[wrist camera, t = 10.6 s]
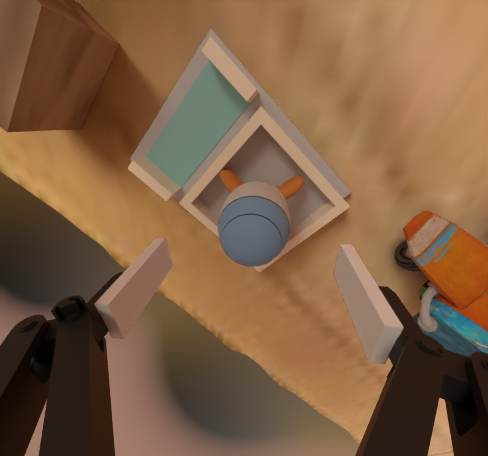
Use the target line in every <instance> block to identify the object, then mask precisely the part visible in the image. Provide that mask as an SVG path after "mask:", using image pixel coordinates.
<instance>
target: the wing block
mask: <svg viewBox="0 0 488 456" xmlns="http://www.w3.org/2000/svg"><path fill="white" fill-rule="evenodd" d="M118 46H119V43H118V42H117V41H116V40H115V39H114V38H113V37H112V36H111V35H110V34H109V33H108V32H107V31H106V30H105V29H104V28H103V27H102V26H101V25H100V24H99V23H98V22H97V21H96V20H95V19H94V18H93V17H92V16H91V15H90V14H89V13H88V12H87V11H86V10H85V9H84V8H83V7H82V6H81V5H80V4H79V3H77V2H75V1H74V0H0V127H1V128H3V129H4V130H5V131H7V132H22V131H45V130H68V129H81V128H82V126H83V124H84V121H85V119H86V117H87V115H88V112H89V110H90V108H91V106H92V104H93V101H94V99H95V97H96V95H97V92H98V90H99V88H100V86H101V84H102V81H103V79H104V77H105V75H106V73H107V70H108V68H109V66H110V64H111V61H112V59H113V57H114V55H115V53H116V50H117V48H118Z"/></svg>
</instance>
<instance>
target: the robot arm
mask: <svg viewBox="0 0 488 456" xmlns="http://www.w3.org/2000/svg"><path fill="white" fill-rule="evenodd" d="M172 266H173V265H172V261H171V257H170V253H169V249H168V244H167V240H166V238H160V237H157V238H156V239H155V240H154V241H153V242H152V243H151V244H150V245H149V246H148V247H147V248H146V249H145V250H144V251H143V252H142V254H141V255H140V256H139V257H138V258H137V259H136V260H135V261H134V262H133V263H132V264H131V265H130V266H129V267H128V268H127V269H126V271H125V272H120V273H118V274H117V275H115V276H114V277H112V278H111V279H110V280H109V281H108V282H107V284H105V285H104V286H103V287H102V289H100V290H99V291H98V292H97V293H96V294H95V295H94V296H93V297H92V298H91V299H90V300H89V302H87V304H86V303H85V301H84V299H83V297H81V296H72V297H68V298H66V299H63V300H62V301H60V302H59V303H57V304H56V305H55V306H54V307H53V309H52V311H51V312H52V314H53V315H54V316H55V318H56V319H53V320H48V321H47V320H46V319H45V317H44V316H43V315H34V316H31V317H28V318H26V319H24V320H22V321H21V322H19V323H18V324H17V325H15V327H14V328H13V329H12V330H11V331H10V333H9V334H8V335H7V337H6V338H5V340H4V341H3V343H2V344H1V346H0V456H24V455H25V453H26V450H27V448H28V445H29V443H30V440H31V438H32V435H33V433H34V430H35V428H36V425H37V423H38V420H39V418H40V415H41V413H42V410H43V408H44V405H45V403H46V400H47V404H46V411H45V418H44V424H43V431H42V438H41V444H40V451H39V456H115V450H114V449H115V448H114V436H113V423H112V411H111V398H110V387H109V374H108V361H107V348H106V340H105V338H104V336H105V335H106V334H107V332H108V331H109V333H110V335H111V337H112V338H120V339H124V338H125V337H126V336H127V334H128V333H129V331H130V330H131V328H132V327H133V325H134V323H135V322H136V320H137V319H138V317H139V316H140V314H141V313H142V311H143V310H144V308H145V307H146V305H147V304H148V302H149V301H150V299H151V298H152V296H153V295H154V293H155V292H156V290H157V289H158V287H159V285H160V284H161V282H162V281H163V279H164V278H165V276H166V275H167V273H168V272H169V270H170V269H171V267H172ZM334 276H335V279H336V281H337V284H338V286H339V289H340V292H341V294H342V297H343V299H344V302H345V304H346V307H347V309H348V312H349V314H350V317H351V319H352V322H353V324H354V327H355V329H356V332H357V334H358V337H359V339H360V342H361V344H362V347H363V349H364V352H365V355H366V357H367V360H368V362H369V363H380V364H385V363H386V361H387V359H388V357H389V358H390V360H391V362H392V364H393V366H392V368H391V370H390V372H389V374H388V376H387V380H386V383H385V385H384V388H383V390H382V392H381V395H380V397H379V400H378V402H377V405H376V407H375V409H374V412H373V414H372V417H371V419H370V422H369V424H368V426H367V429H366V431H365V434H364V436H363V439H362V441H361V443H360V446H359V448H358V451H357V453H356V455H355V456H427V455H428V450H429V445H430V440H431V436H432V431H433V426H434V421H435V416H436V411H437V406H438V401H439V398H442V399H444V400H445V403H446V409H447V415H448V421H449V428H450V434H451V440H452V446H453V452H454V456H488V354H487V353H483V352H474V353H473V354H471V356H470V357H467V356H464V355H461V354H458V353H455V352H452V351H449V350H446V349H444V347H443V346H442V345H441V344H440V343H439V342H438V341H437V340H435V339H434V338H432V337H431V336H428V335H426V334H424V333H423V332H422V330H421V329H420V327H419V326H418V324H417V323H416V322H415V320H414V319H413V317H412V316H411V315H410V313H409V312H408V310H407V309H406V307H405V306H404V305H403V303H401V300H400V299H399V297H398V296H397V295H396V293H394V292H393V291H392V290H391V289H389V288H388V287H383V286H377V284H376V283H375V281H374V279H373V278H372V276H371V275H370V273H369V271H368V270H367V268H366V267H365V265H364V263H363V262H362V260H361V259H360V257H359V255H358V254H357V252H356V251H355V249H354V247H353V246H352V244H340V247H339V252H338V256H337V261H336V265H335V269H334Z"/></svg>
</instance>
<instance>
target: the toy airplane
mask: <svg viewBox="0 0 488 456" xmlns="http://www.w3.org/2000/svg"><path fill="white" fill-rule="evenodd" d="M403 230H404V233H405V237H406V241H404V242H403V243H401V244H400V245H399V246H398V247H397V249H396V251H395V260H396V262H397V264H398V265H399V266H401V267H402V268H404V269H406V270H411V271H420V270H421V271H422V272H423V273H424V274H425V275H426V276H427V278H428V279H429V281H427V282H426V283H425V284H423V286H422V288H421V289H420V300H421V305H420V312H419V313H417V314H416V315H415V316H414V317H413V319H414V320H415V322H416V323H417V324H418V326H419V327H420V329H421V330H422V332H423V333H424V334H426V335H428V336H431V337H432V338H434V339H435V340H437V341H438V342H439V343H440V344H441V345H442V346H443V347H444V349H446V350H449V351H452V352H455V353H458V354H461V355H464V356H467V357H470V356H471V354H473V353H474V352H483V353H487V354H488V245H487V244H485V243H482V242H480V241H479V240H477V239H476V238H474V237H473V236H471V235H470V234H468V233H467V232H465V231H464V230H463V229H461V228H460V227H458V226H457V225H455V224H454V223H452V222H450V221H448V220H446V219H444V218H442V217H440V216H438V215H436V214H434V213H432V212H429V211H424V212H422V213H420V214H419V215H417V216H415V217H414V218H413V219H412V220H411V221H410V222H409V223H408V224H407V225H406V226H405V227H404V228H403Z"/></svg>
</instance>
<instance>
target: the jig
mask: <svg viewBox="0 0 488 456" xmlns="http://www.w3.org/2000/svg"><path fill="white" fill-rule="evenodd" d="M130 160H131V161H132V162H131V164H130V165H129V167H128V169H129V170H130V171H131V172H132V173H133V174H134V175H136V176H137V177H138V178H139V179H140V180H142V181H143V182H144V183H145V184H146V185H148V186H149V187H150V188H151V189H152V190H153V191H155V192H156V193H157V194H158V195H159V196H161V197H162V198H163V199H164V200H165V201H168V200H169V199H170V198H172V197H174V198H175V199H176V200H178V201H179V204H180V205H181V206H182V207H184V208H185V209H186V210H187V211H188V212H189V213H191V214H192V215H193V216H194V217H195V218H196V219H198V220H199V221H200V222H201V223H202V224H203V225H205V226H206V227H207V228H208V229H209V230H210V231H212V232H213V233H214V234H215V235H216V236H217V237H219V234H218V220H219V216H220V212H221V209H222V206H223V204H224V203H225V201H226V199H227V197H228V196H229V195H230V194H231V193H230V192H229V191H228V189H227V188H226V187H225V186H224V184H223V182H222V180H221V178H220V171H221V170H222V169H224V168H231V170H232V171H233V172H234V173H235V174H236V175H237V176H238V177H239V178H240V180H241V181H242V182H244V183H248V182H252V181H263V182H266V183H269V184H271V185H273V186H275V187H276V186H279V185H281V184H282V183H283V182H285V181H287V180H288V179H290V178H292V177H293V176H294V175H298V176H302V177H303V179H304V184H303V186H302V187H301V188H300V190H299V191H298V192H297V193H296V194H294V195H293V196H292V197H290V198H288V199H287V200H286V202H287V204H288V208H289V214H290V234H289V238H288V241H287V243H286V245H285V247H284V248H283V250H282V251H281V252H280V254H279V255H278V256H277V257H275V258H274V259H273V260H272V261H271V262H269V263H267V264H265V265H262V266H256V267H254V268H255V269H256V270H257V271H258V272H261V271H262V270H264V269H265V268H266V267H268V266H269V265H271V264H272V263H273V262H275V261H276V260H277V259H279V258H280V257H282V256H283V255H284V254H286V253H287V252H288V251H290V250H291V249H293V248H294V247H295V246H297V245H298V244H300V243H301V242H302V241H304V240H305V239H306V238H308V237H309V236H311V235H312V234H313V233H315V232H316V231H317V230H319V229H320V228H322V227H323V226H324V225H326V224H327V223H328V222H330V221H331V220H333V219H334V218H335V217H337V216H338V215H339V214H341V213H342V212H344V211H345V210H346V209H348V208H349V207H350V206H349V205H348V203H347V202H346V201H345V200H344V199H343V198H345V197H346V196H347V195H349V194H350V193H351V192H352V191H351V190H350V189H349V188H348V187H347V186H346V184H345V183H344V182H343V181H342V180H341V179H340V177H339V176H338V175H337V174H336V173H335V172H334V170H333V169H332V168H331V167H330V166H329V165H328V163H327V162H326V161H325V160H324V159H323V158H322V157H321V155H320V154H319V153H318V152H317V151H316V150H315V148H314V147H313V146H312V145H311V144H310V143H309V141H308V140H307V139H306V138H305V137H304V136H303V134H302V133H301V132H300V131H299V130H298V129H297V128H296V126H295V125H294V124H293V123H292V122H291V121H290V119H289V118H288V117H287V116H286V115H285V114H284V112H283V111H282V110H281V109H280V108H279V107H278V105H277V104H276V103H275V102H274V101H273V100H272V98H271V97H270V96H269V95H268V94H267V93H266V92H265V90H264V89H263V88H262V87H261V86H260V85H259V83H258V82H257V81H256V80H255V79H254V78H253V76H252V75H251V74H250V73H249V72H248V71H247V69H246V68H245V67H244V66H243V65H242V64H241V62H240V61H239V60H238V59H237V58H236V57H235V56H234V54H233V53H232V52H231V51H230V50H229V49H228V47H227V46H226V45H225V44H224V43H223V42H222V40H221V39H220V38H219V37H218V36H217V35H216V33H215V32H214V31H213V30H212V29H211V28H210V30H209V32H208V33H207V35H206V37H205V38H204V40H203V41H202V43H201V45H200V46H199V48H198V50H197V51H196V53H195V54H194V56H193V58H192V59H191V61H190V62H189V64H188V66H187V67H186V69H185V71H184V72H183V74H182V75H181V77H180V79H179V80H178V82H177V84H176V85H175V87H174V88H173V90H172V92H171V93H170V95H169V97H168V98H167V100H166V101H165V103H164V105H163V106H162V108H161V109H160V111H159V113H158V114H157V116H156V118H155V119H154V121H153V122H152V124H151V126H150V127H149V129H148V131H147V132H146V134H145V135H144V137H143V139H142V140H141V142H140V144H139V145H138V147H137V148H136V150H135V152H134V153H133V155H132V157H131V158H130Z"/></svg>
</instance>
